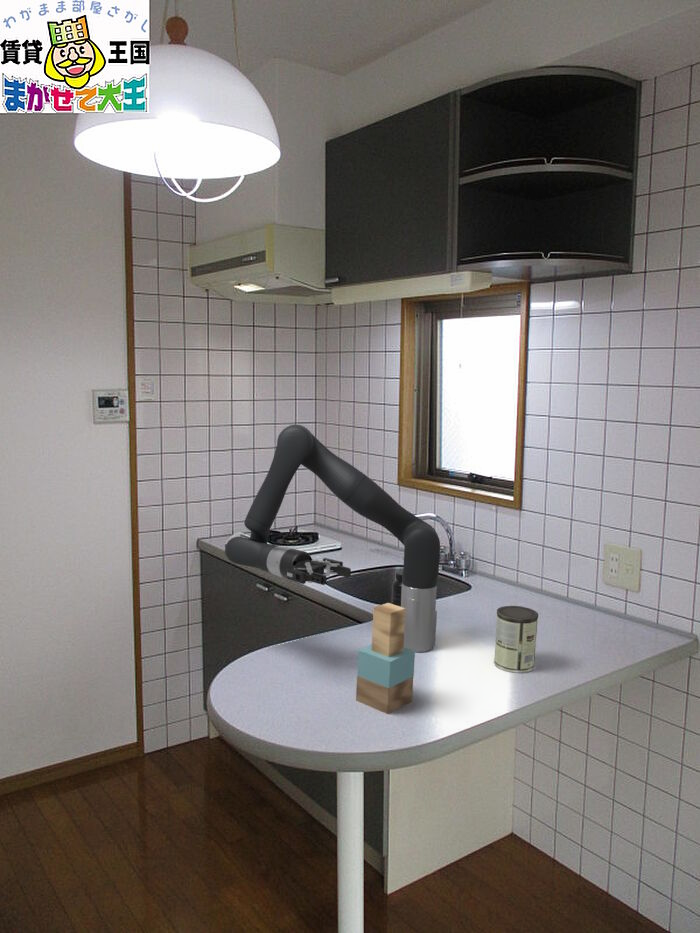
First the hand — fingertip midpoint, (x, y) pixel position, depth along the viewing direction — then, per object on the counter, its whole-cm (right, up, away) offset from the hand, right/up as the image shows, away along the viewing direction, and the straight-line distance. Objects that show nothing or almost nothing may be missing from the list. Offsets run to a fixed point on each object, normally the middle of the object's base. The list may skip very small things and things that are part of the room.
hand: (338, 576), depth 183 cm
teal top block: (+11, -21, -8) cm, 25 cm away
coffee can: (+45, -25, +16) cm, 53 cm away
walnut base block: (+10, -27, -7) cm, 30 cm away
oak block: (+11, -15, -9) cm, 21 cm away
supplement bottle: (+19, -18, +54) cm, 60 cm away
